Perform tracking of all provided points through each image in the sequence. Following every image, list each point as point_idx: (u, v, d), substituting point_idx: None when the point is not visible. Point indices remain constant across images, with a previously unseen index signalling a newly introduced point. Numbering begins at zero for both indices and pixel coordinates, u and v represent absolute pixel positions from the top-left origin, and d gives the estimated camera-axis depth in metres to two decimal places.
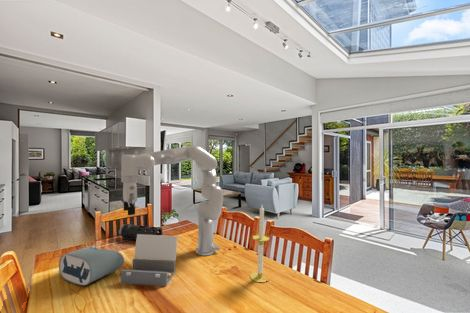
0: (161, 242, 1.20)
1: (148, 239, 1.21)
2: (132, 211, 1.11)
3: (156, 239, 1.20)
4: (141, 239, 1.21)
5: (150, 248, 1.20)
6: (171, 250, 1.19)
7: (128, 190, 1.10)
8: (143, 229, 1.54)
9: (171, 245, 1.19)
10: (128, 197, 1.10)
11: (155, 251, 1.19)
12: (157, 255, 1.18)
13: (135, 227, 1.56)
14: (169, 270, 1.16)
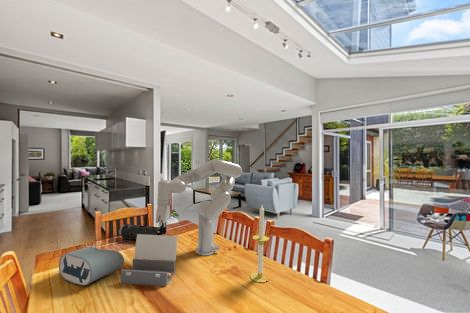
0: (161, 242, 1.20)
1: (148, 239, 1.21)
2: None
3: (156, 239, 1.20)
4: (141, 239, 1.21)
5: (150, 248, 1.20)
6: (171, 250, 1.19)
7: None
8: (143, 229, 1.54)
9: (171, 245, 1.19)
10: None
11: (155, 251, 1.19)
12: (157, 255, 1.18)
13: (135, 227, 1.56)
14: (169, 270, 1.16)
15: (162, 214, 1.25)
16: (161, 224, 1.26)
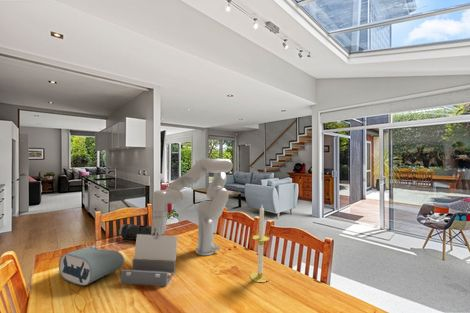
0: (161, 242, 1.20)
1: (148, 239, 1.21)
2: None
3: (156, 239, 1.20)
4: (141, 239, 1.21)
5: (150, 248, 1.19)
6: (171, 250, 1.19)
7: None
8: (144, 229, 1.55)
9: (171, 245, 1.19)
10: None
11: (155, 251, 1.19)
12: (157, 255, 1.18)
13: (135, 227, 1.56)
14: (169, 270, 1.16)
15: (158, 226, 1.19)
16: (157, 237, 1.20)
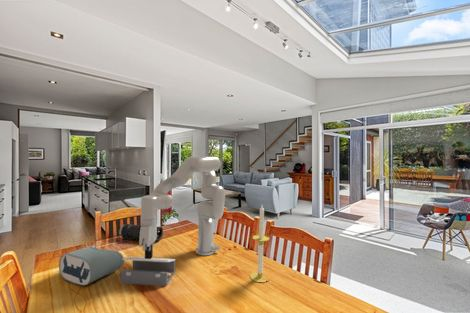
0: None
1: None
2: None
3: None
4: None
5: None
6: None
7: None
8: None
9: None
10: None
11: None
12: None
13: (136, 227, 1.57)
14: (169, 270, 1.16)
15: (146, 236, 1.06)
16: (145, 248, 1.07)
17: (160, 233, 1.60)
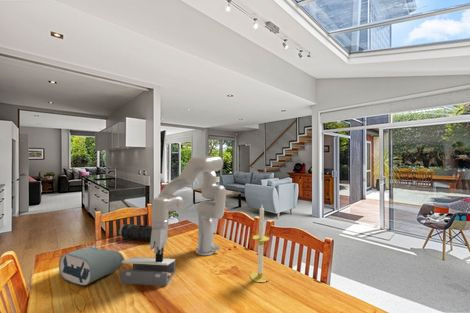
0: None
1: None
2: None
3: None
4: None
5: None
6: None
7: None
8: (144, 228, 1.55)
9: None
10: None
11: None
12: None
13: (136, 227, 1.57)
14: (169, 270, 1.16)
15: (158, 239, 1.04)
16: (157, 251, 1.05)
17: None
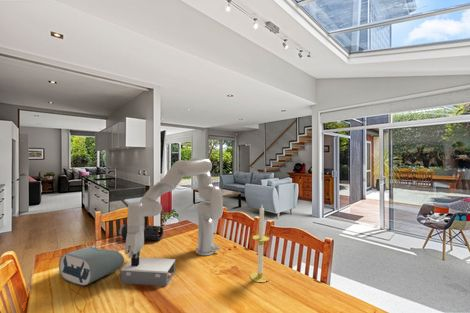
0: None
1: None
2: None
3: None
4: None
5: None
6: None
7: None
8: (145, 228, 1.56)
9: None
10: None
11: None
12: None
13: None
14: (169, 270, 1.16)
15: (132, 244, 1.05)
16: (132, 255, 1.06)
17: (160, 232, 1.61)
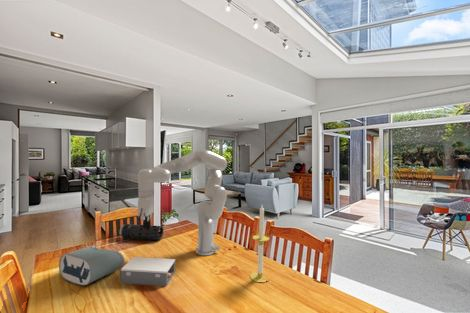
0: None
1: None
2: None
3: None
4: None
5: None
6: None
7: None
8: None
9: None
10: None
11: None
12: None
13: (136, 226, 1.57)
14: (169, 270, 1.16)
15: (144, 206, 1.13)
16: (144, 218, 1.13)
17: (161, 232, 1.61)
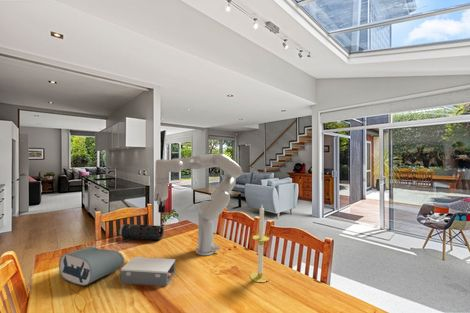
0: None
1: None
2: None
3: None
4: None
5: None
6: None
7: None
8: (145, 228, 1.56)
9: None
10: None
11: None
12: None
13: (136, 226, 1.57)
14: (169, 270, 1.16)
15: (160, 192, 1.26)
16: (159, 202, 1.27)
17: (161, 232, 1.62)
